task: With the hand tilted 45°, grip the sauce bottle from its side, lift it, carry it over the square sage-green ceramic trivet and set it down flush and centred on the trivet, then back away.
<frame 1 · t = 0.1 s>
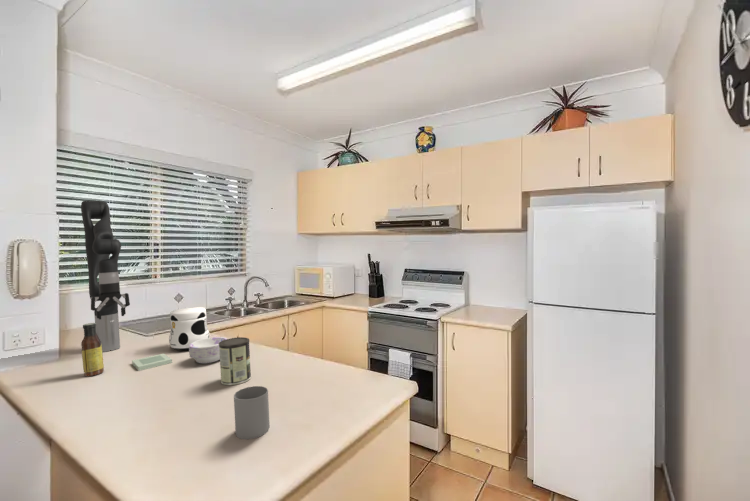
hand: (111, 317, 164), 17 cm above the worktop, tool pointing down, fingers open, 8 cm apart
cup: (252, 431, 93), on the worktop
trivet: (152, 363, 150), on the worktop
coffee can: (236, 380, 129), on the worktop
sauce bottle: (93, 374, 140), on the worktop
paper bowls: (209, 360, 152), on the worktop
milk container: (190, 347, 173), on the worktop
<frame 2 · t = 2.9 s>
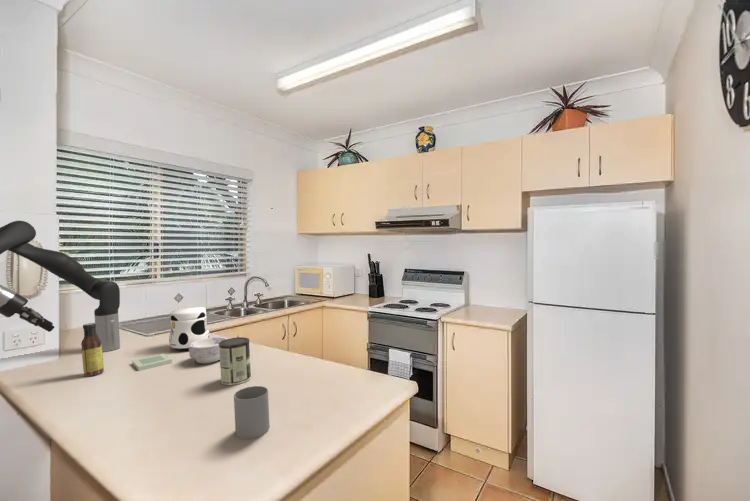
hand: (51, 327, 131), 21 cm above the worktop, tool tilted 45°, fingers open, 8 cm apart
nothing on the worktop moved.
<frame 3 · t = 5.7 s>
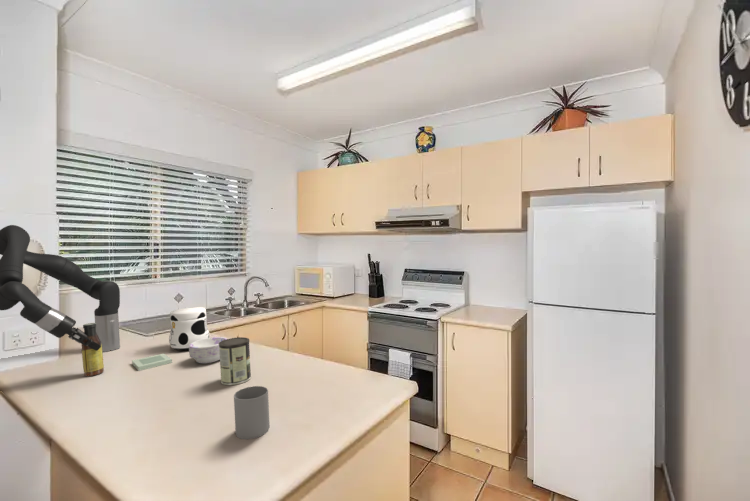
hand: (97, 346, 141), 10 cm above the worktop, tool tilted 45°, fingers closed on sauce bottle, 6 cm apart
sauce bottle: (93, 374, 140), on the worktop, touching gripper
everything else where it was.
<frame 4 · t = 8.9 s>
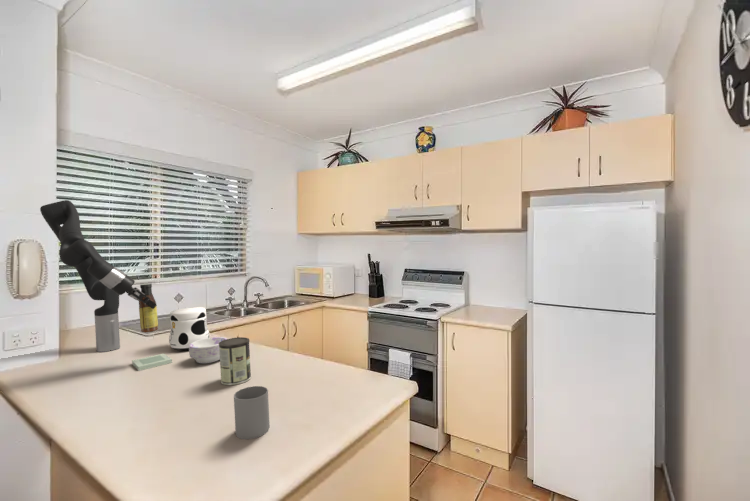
hand: (152, 305, 151), 24 cm above the worktop, tool tilted 45°, fingers closed on sauce bottle, 6 cm apart
sauce bottle: (149, 331, 150), point 14 cm above the worktop, touching gripper
everything else where it was.
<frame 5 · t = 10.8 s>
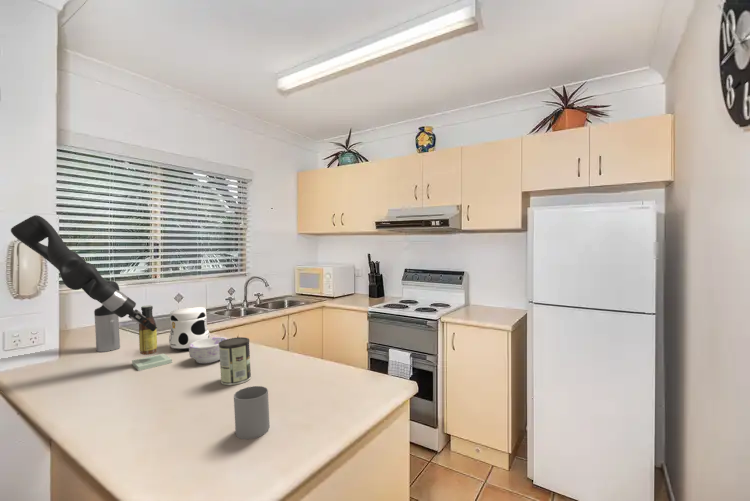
hand: (152, 327, 151), 15 cm above the worktop, tool tilted 45°, fingers closed on sauce bottle, 6 cm apart
sauce bottle: (148, 353, 150), point 4 cm above the worktop, touching gripper
everything else where it was.
when the fingers open (13 cm above the worktop, at t = 12.2 s): sauce bottle stays where it is, resting on trivet.
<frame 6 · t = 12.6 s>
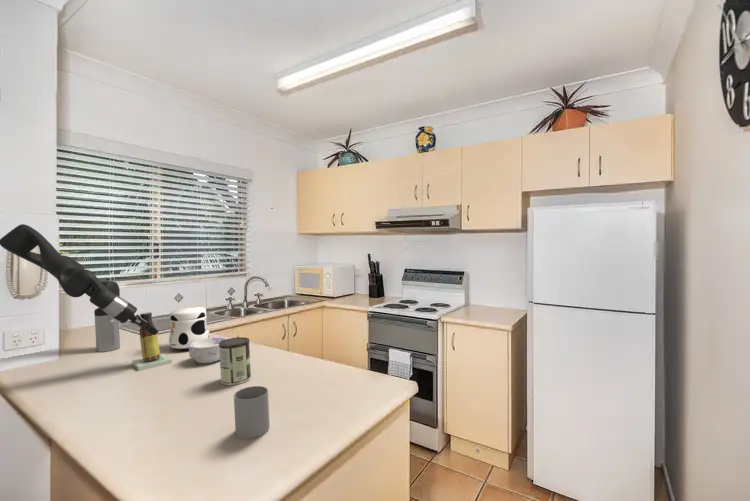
hand: (154, 331, 151), 13 cm above the worktop, tool tilted 45°, fingers open, 8 cm apart
sauce bottle: (151, 360, 150), point 1 cm above the worktop, touching trivet
everything else where it was.
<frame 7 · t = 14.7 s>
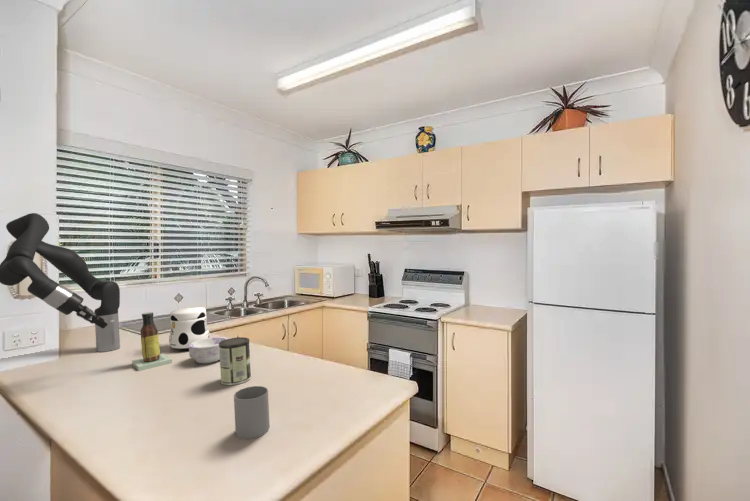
hand: (104, 324, 139), 19 cm above the worktop, tool tilted 45°, fingers open, 8 cm apart
nothing on the worktop moved.
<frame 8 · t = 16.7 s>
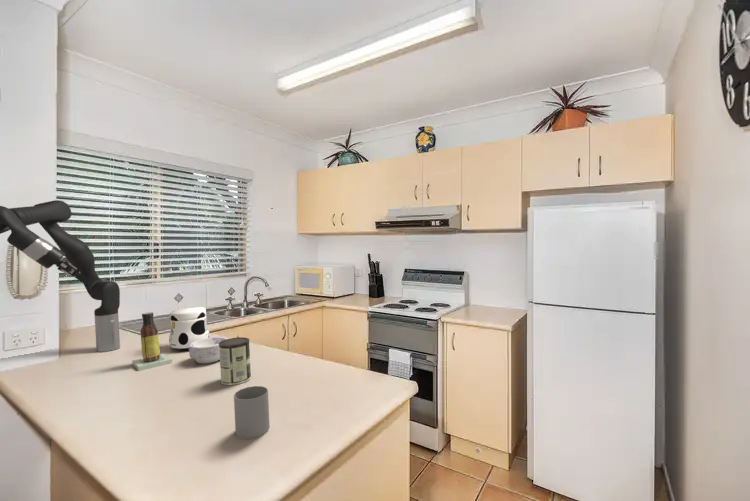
hand: (86, 280, 138), 37 cm above the worktop, tool tilted 45°, fingers open, 8 cm apart
nothing on the worktop moved.
at the end: sauce bottle inside the target area on the trivet (0.2 cm from its centre), point 1.3 cm above the trivet's base; sauce bottle tilted 0°; the gripper is holding nothing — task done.
